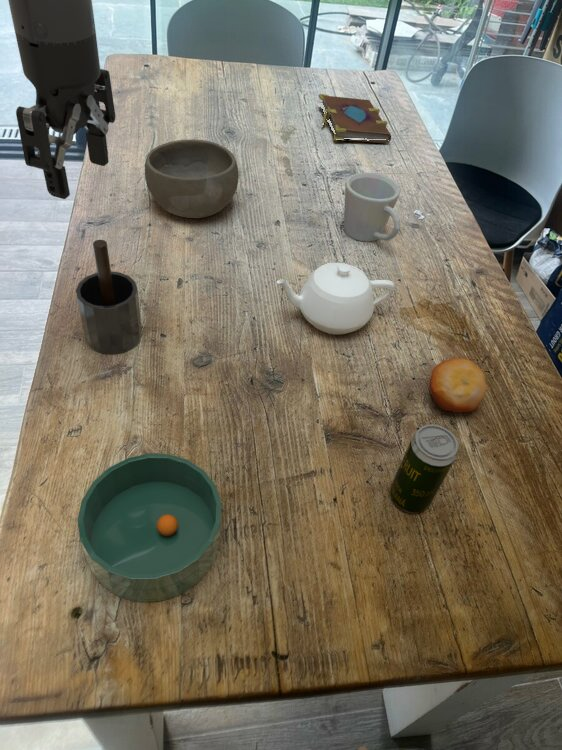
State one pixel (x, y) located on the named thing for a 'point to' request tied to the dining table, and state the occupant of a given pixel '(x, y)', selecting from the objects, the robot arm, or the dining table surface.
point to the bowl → (191, 177)
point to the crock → (110, 314)
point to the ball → (167, 525)
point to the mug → (370, 206)
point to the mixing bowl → (150, 527)
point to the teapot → (338, 297)
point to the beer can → (423, 468)
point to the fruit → (457, 385)
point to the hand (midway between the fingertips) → (80, 179)
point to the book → (354, 119)
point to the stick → (104, 272)
